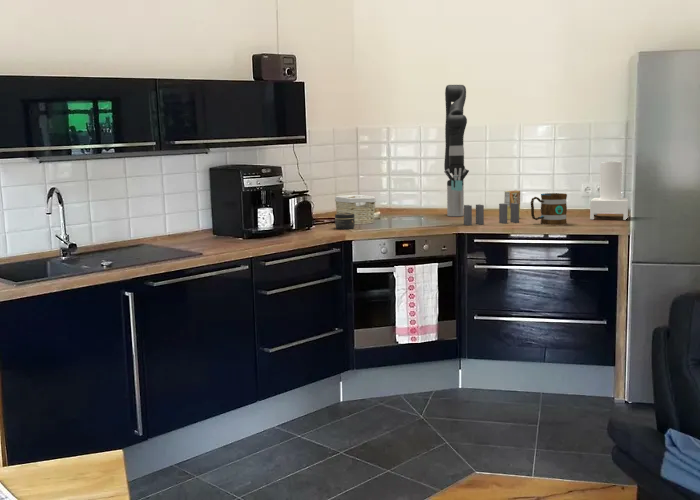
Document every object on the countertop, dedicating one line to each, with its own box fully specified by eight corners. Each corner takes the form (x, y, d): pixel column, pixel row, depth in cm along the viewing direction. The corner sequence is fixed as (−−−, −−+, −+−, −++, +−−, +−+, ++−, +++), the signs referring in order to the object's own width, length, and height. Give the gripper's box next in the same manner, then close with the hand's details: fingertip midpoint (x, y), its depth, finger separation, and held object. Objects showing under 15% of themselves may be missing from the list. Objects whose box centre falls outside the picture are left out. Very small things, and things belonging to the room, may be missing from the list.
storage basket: (334, 221, 445) (333, 195, 443) (361, 220, 450) (361, 193, 448) (348, 225, 422) (348, 197, 420) (377, 224, 428) (376, 196, 426)
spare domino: (457, 180, 404) (451, 180, 414) (457, 190, 405) (451, 189, 414) (462, 180, 404) (455, 180, 414) (462, 190, 405) (455, 189, 415)
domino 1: (467, 225, 411) (467, 205, 409) (463, 224, 416) (463, 205, 414) (471, 225, 411) (471, 205, 410) (468, 224, 416) (468, 204, 415)
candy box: (514, 218, 441) (514, 190, 439) (520, 218, 438) (520, 190, 435) (503, 219, 435) (503, 191, 433) (510, 219, 432) (510, 191, 430)
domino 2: (479, 224, 412) (479, 205, 411) (475, 223, 417) (475, 204, 415) (483, 224, 413) (483, 205, 411) (480, 223, 417) (480, 204, 416)
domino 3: (502, 223, 415) (503, 204, 413) (499, 222, 420) (499, 203, 418) (507, 223, 415) (507, 204, 414) (503, 222, 420) (503, 203, 419)
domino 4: (514, 223, 416) (514, 203, 415) (510, 222, 421) (510, 203, 420) (518, 222, 417) (519, 203, 415) (515, 221, 421) (515, 202, 420)
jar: (348, 230, 402) (347, 215, 401) (331, 229, 407) (331, 214, 406) (358, 228, 410) (358, 213, 409) (342, 227, 416) (341, 212, 415)
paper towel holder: (590, 219, 426) (591, 162, 421) (593, 215, 443) (594, 161, 439) (627, 219, 419) (628, 162, 414) (629, 216, 436) (630, 161, 432)
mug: (558, 221, 419) (558, 192, 417) (572, 223, 406) (572, 194, 404) (524, 223, 414) (524, 194, 412) (537, 225, 401) (537, 196, 399)
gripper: (466, 154, 412) (466, 187, 415) (441, 154, 410) (442, 188, 412) (471, 154, 405) (471, 188, 407) (446, 155, 402) (446, 189, 405)
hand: (456, 188), depth 410 cm, fingers closed, pressing on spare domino
